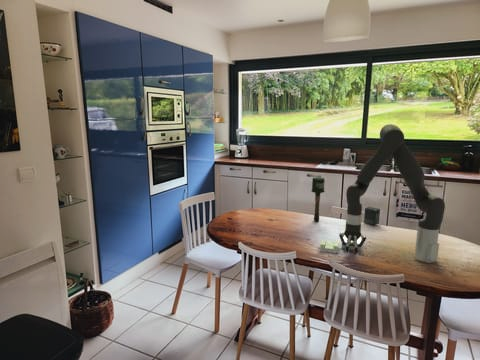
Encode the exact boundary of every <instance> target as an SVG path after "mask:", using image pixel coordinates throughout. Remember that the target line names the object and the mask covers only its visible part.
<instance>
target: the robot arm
mask: <svg viewBox="0 0 480 360" xmlns="http://www.w3.org/2000/svg"><path fill="white" fill-rule="evenodd" d="M379 138H380V141H381V143H380V144H379V147H378V149H377V151H376V152H375V153H374V154H373V155H372V156H371V158H369V159H368V160H367V161H366V162H365V163H364V164H363V166H362V168H361V169H360V170H359V172H358V174H357V176H356V178H357V179H356V180H355V182H353V183H354V184H352V185H351V184H350V185H349V186H348V187H347V189H346V192H345V196H346V197H345V198H346V202H347V210H346V216H345V228H344V229H345V230H344V232H340V233H339V234H338V235H339V238H340V242H341V245H342V244H343V245H345V246H346V249H345V252H346V254H349V250H348V248H349V242H350V241H355V251H354V252H353V253H354V255H357V254H358V252H359V251H358V247H361V248H362V247H363V245H364V244H365V242H366V240H367V236H366V235H362V233H361V231H362V218H363V217H362V215H363V214H362V212H363V205H362V203H361V197H362V196H364V195H365V194H366V192H367V191H368V189H369V186H370V183H372V181H373V180H374V178H375V177H376V175H377V173H378V172H379V171H380V169H381V168H382V166H384V165H385V163H386V162H387V160H389V158H390V157H392V159H393V160H394V164H395V165H396V168H397V169H398V172H399V174H400V176H401V177H402V179H403V180H404V182H405V184H406V186H407V188H408V189H409V191H410V192H411V194H412V196H413V200H414V201H415V204H416V207H417V208H418V210H420V211H421V212H423V213H426V214H425V218H420V219H419V220H418V221H417V222H418V224H417V229H416V230H417V231H416V238H415V239H416V241H415V249H414V256H413V257H414V259H415V260H417V261H419V262H422V263H427V264H433V263H436V262H437V261H438V256H439V249H440V248H439V247H440V243H439V242H438V241H439V233H440V227H441V225H442V223H443V219H444V215H445V209H446V202H445V201H444V199H443V198H441V197H439V196H436V195H432V194H431V193H430V192H429V191H428V190H427V188H426V185H425V172H424V169H423V168H422V166H421V165H420V162H419V161H418V159H417V158H416V157H415V155H414V153H412V151H411V149H409V147H408V146H407V145H406V141H405V134H404V132H403V131H402V130H401V128H400V127H399V126H398V125H395V124H391V123H389V124H386V125H384V126H383V127H381V129H380V131H379ZM344 235H345V236H346V238H347V242H345V241H344V238H343V237H344ZM360 237H361V242H360V243H359V244H358V242H357V240H358V239H359V238H360Z"/></svg>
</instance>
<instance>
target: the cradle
mask: <svg viewBox="0 0 480 360" xmlns="http://www.w3.org/2000/svg"><path fill="white" fill-rule="evenodd" d="M339 242H340V241H339V240H337V239H336V240H335V239H334V241H333V242H327V238H321V241H320V249H319V251H320V252H325V253H333V254H338V253H339V246H340V245H339Z"/></svg>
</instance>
